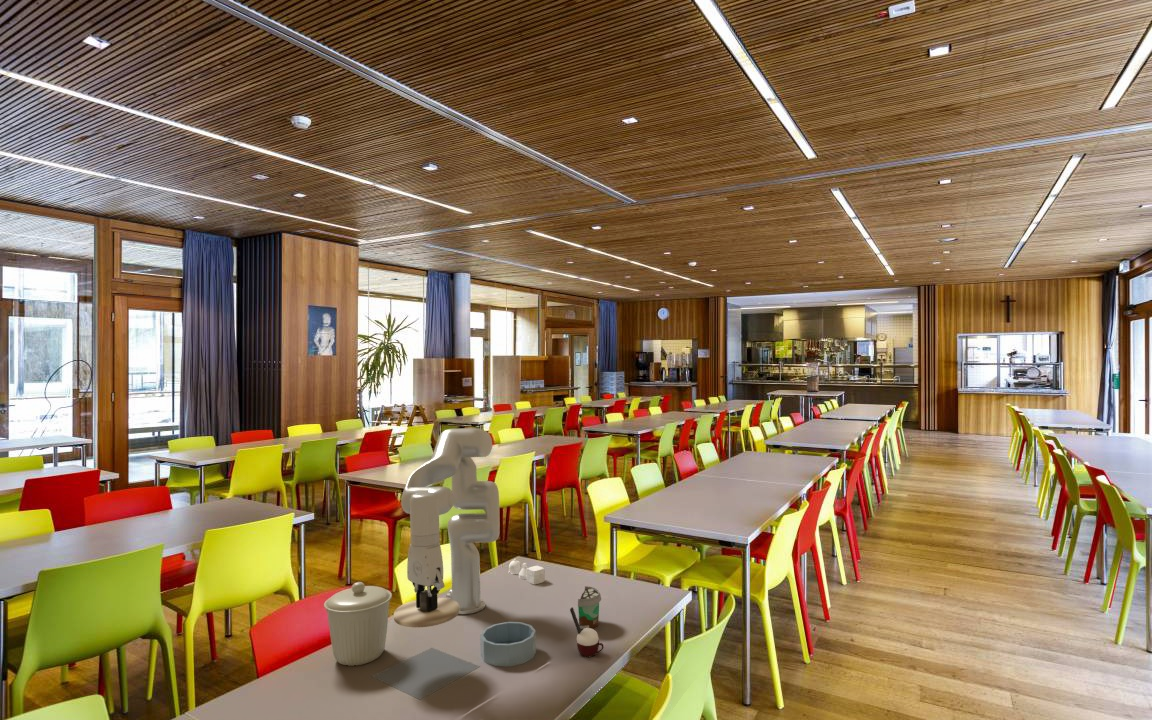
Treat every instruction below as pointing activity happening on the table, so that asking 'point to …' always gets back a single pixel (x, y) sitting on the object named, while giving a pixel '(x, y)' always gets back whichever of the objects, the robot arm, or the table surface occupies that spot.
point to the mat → (425, 672)
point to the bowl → (508, 644)
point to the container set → (527, 572)
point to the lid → (420, 616)
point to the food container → (589, 608)
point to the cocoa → (586, 639)
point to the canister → (358, 623)
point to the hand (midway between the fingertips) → (426, 607)
